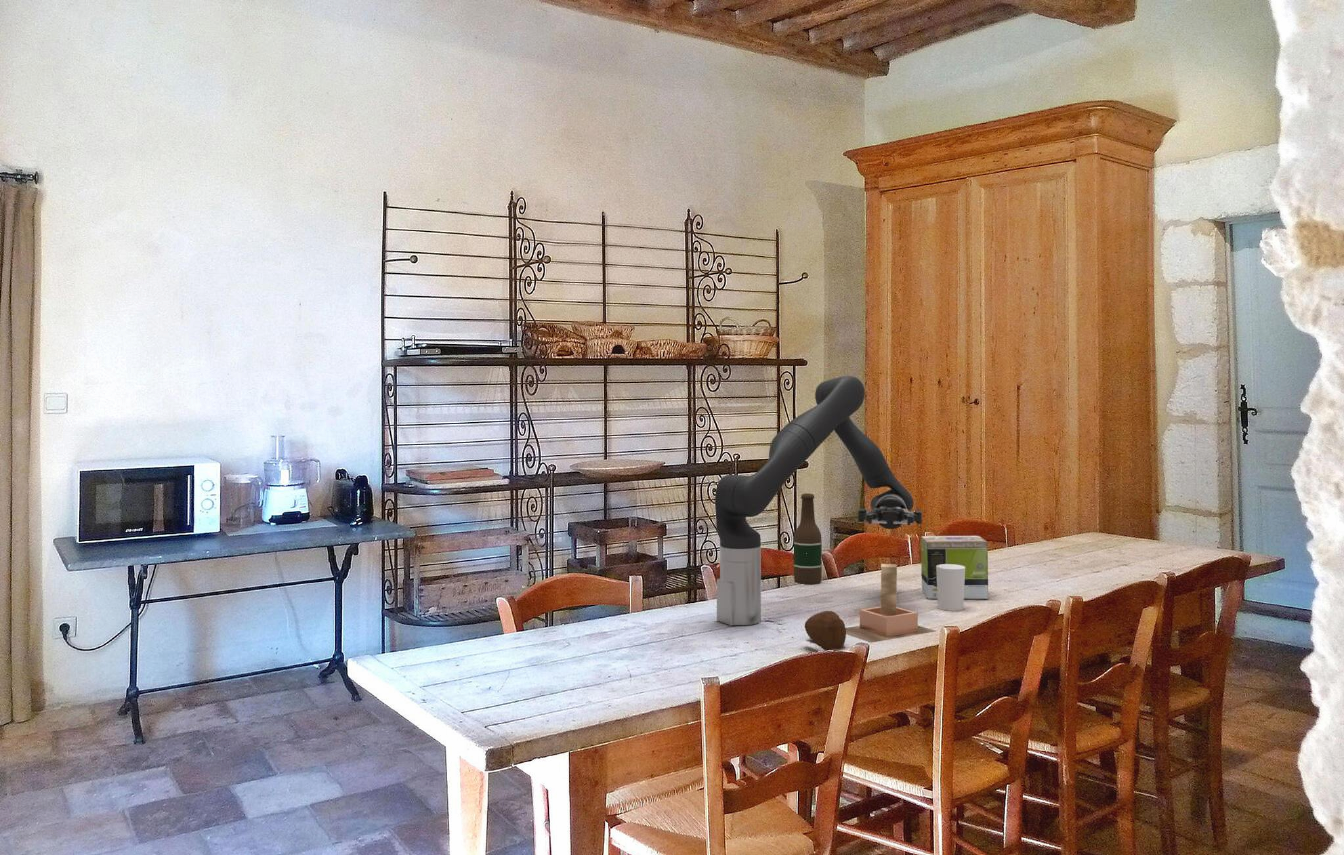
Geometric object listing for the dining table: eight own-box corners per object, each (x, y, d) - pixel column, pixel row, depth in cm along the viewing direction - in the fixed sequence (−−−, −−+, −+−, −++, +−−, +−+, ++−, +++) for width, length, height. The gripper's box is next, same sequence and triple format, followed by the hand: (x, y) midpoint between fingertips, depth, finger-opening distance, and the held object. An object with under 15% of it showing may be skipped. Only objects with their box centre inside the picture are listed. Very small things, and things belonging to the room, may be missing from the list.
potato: (830, 657, 196) (830, 617, 196) (797, 646, 204) (797, 608, 204) (857, 651, 200) (857, 612, 200) (824, 641, 208) (824, 604, 208)
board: (870, 648, 203) (870, 642, 202) (833, 635, 213) (833, 629, 213) (936, 636, 211) (936, 630, 211) (897, 624, 222) (897, 619, 222)
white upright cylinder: (966, 611, 234) (966, 569, 233) (937, 610, 235) (937, 568, 235) (963, 605, 240) (964, 564, 240) (935, 604, 242) (935, 563, 241)
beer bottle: (813, 585, 265) (813, 496, 264) (788, 582, 270) (787, 494, 269) (827, 581, 271) (827, 493, 270) (802, 577, 276) (802, 491, 275)
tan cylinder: (877, 627, 211) (878, 567, 210) (877, 622, 215) (878, 563, 214) (899, 628, 210) (899, 568, 209) (898, 623, 214) (899, 564, 214)
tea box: (980, 591, 256) (980, 534, 255) (988, 600, 246) (989, 540, 245) (920, 591, 258) (920, 534, 257) (926, 599, 248) (926, 540, 247)
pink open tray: (886, 636, 207) (886, 617, 207) (859, 628, 214) (859, 609, 214) (917, 631, 211) (917, 612, 211) (890, 623, 218) (890, 605, 218)
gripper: (860, 494, 240) (857, 502, 224) (921, 496, 236) (922, 503, 221) (860, 526, 240) (856, 535, 224) (921, 528, 237) (922, 537, 221)
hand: (889, 519), depth 222 cm, fingers open, 8 cm apart
